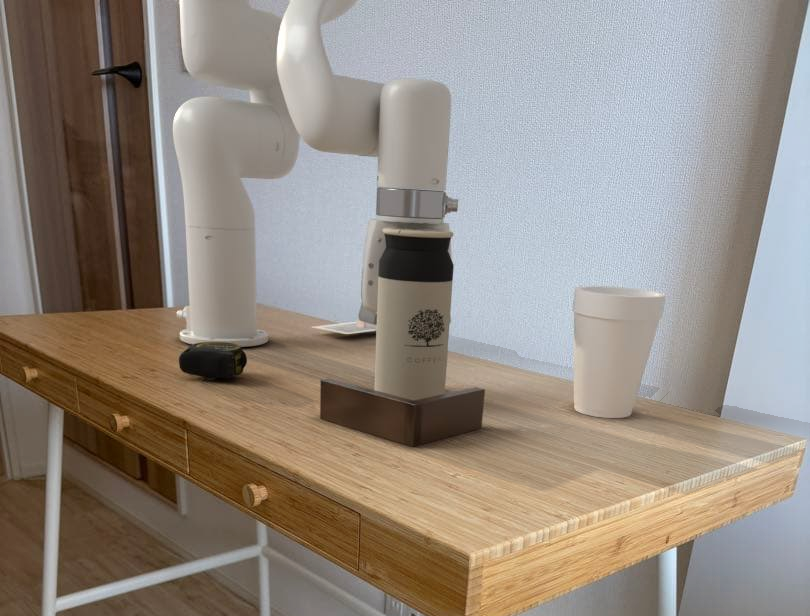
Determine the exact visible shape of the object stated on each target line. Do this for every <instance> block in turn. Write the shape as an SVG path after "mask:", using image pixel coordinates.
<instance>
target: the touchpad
mask: <svg viewBox="0 0 810 616" xmlns="http://www.w3.org/2000/svg"><path fill="white" fill-rule="evenodd" d="M311 328H312V329H318V330H322V331H327V332H332V333H338V334H341V335H342V334H343V335H353V334H363V333H368V332H376V329H377V325H373V324H370V323H366V322H363V321H361V320H359V319H358V321H350V322H340V323H333V324H323V325H317V326H311Z"/></svg>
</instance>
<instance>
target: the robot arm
mask: <svg viewBox="0 0 810 616" xmlns="http://www.w3.org/2000/svg"><path fill="white" fill-rule="evenodd" d="M178 2H179V25H180V41H181V43H180V44H181V52H182V58H183V63H184V66H185V68H186V71H187V73H188V74H189V76H191V77H192V78H194V79H195V80H197V81H198V82H201V83H204V84H207V85H212V86H218V87H224V88H230V89H236V90H241V91H242V90H243V91H249V99H250V101H244V100H241V99H233V98H227V97H220V96H218V97H217V96H197V97H193V98H190V99H188V100H186V101H184V102H183V104H181V105H180V106H179V108H178V109H177V111H176V112H175V115H174V118H173V121H172V137H173V138H172V139H173V144H174V145H173V146H174V150H175V153H176V154H175V155H176V159H177V163H178V168H179V172H180V173H179V174H180V178H181V186H182V193H183V205H184V206H183V208H184V224H185V226H184V227H185V243H186V244H185V245H186V263H187V278H188V279H187V282H188V283H187V284H188V286H187V287H188V300H189V301H188V303H189V305H185V306H184V307H183V310H182V309H179V310H177V312H176V318H177V319H178V320H181V321H186V328H184V329H182V330H181V331H180V332H179V340H180V341H181V342H183V343H186V344H188V345H193V344H196V343H201V342H228V343H234V344H238V345H240V346H241V347H242V348H249V347H256V346H261V345H264V344H266V343H268V342H269V333H268V332H267V331H264V330H262V329H258V308H257V307H258V303H257V302H258V301H257V254H256V253H257V252H256V250H257V247H256V242H257V241H256V216H255V215H256V214H255V208H254V206H253V202H252V199H251V197H250V195H249V193H248V191H247V189H246V186H244V183H243V181H242V179H259V180H260V179H262V180H277V179H282V178H284V177H286V176H287V175H289V174H290V172H291V171H292V170H293V169H294V167H295V165H296V163H297V160H298V156H299V151H300V140H301V139H302V141H303V142H304V143H305V144H306V145H308V147H310V148H311V149H314V150H316V151H319V152H321V153H332V154H341V155H353V156H360V157H368V158H369V157H370V158H377V175H376V176H377V177H376V187H377V188H376V206H375V218H369V219H368V223H367V227H366V232H365V239H364V246H363V256H362V268H361V269H362V270H361V286H360V287H361V288H360V291H361V292H360V297H361V303H360V308H359V311H358V320H361V321H363V322H366V323H370V324H373V325H377V302H378V274H379V260H380V258H381V256H382V254H383V253H384V251H385V249H386V242H385V235H384V233H383V232H382V230H383V229H384V228H416V229H434V230H445V231H451V227H450V223H448V222H445V221H444V220H445V218H446V215H448V214H450V213H451V212H452V213H457V212H458V209H459V199H458V198H452V197H449V195H447V191H446V189H447V175H448V161H449V146H450V145H449V144H450V132H451V130H450V129H451V117H452V116H451V115H452V94H451V91H450V89H449V87H448V85H446V84H445V83H442V82H440V81H437V80H433V79H426V78H424V79H423V78H412V77H410V78H407V77H405V78H395V79H391V80H389V81H387V82H386V83H383V82H377V81H376V82H375V81H372V80H366V79H361V78H356V77H350V76H345V75H340V74H334V72H333V69H332V67H331V64H330V61H329V58H328V54H327V52H326V49H325V48H326V47H325V45H324V41H323V36H322V25H324V24H327V23H329V22H333V21H335V20H337V19H338V18H340V17H343V15H345V14H346V13H347V12H349V11H350V10H351V9H352V8H354V6H355V5H356V4H357V2H359V0H289V4H288V5H287V8H286V10H285V12H284V14H283V17H281V16H279V15H276V14H275V13H273V12H268V11H264V10H260V9H256V8H252V7H251V5H250V0H179V1H178ZM448 252H449V255H450V257H451V260H452V261H453V254H452V239H451V240H450V244H449V249H448ZM451 323H452V317H451V315H450V324H451Z"/></svg>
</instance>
